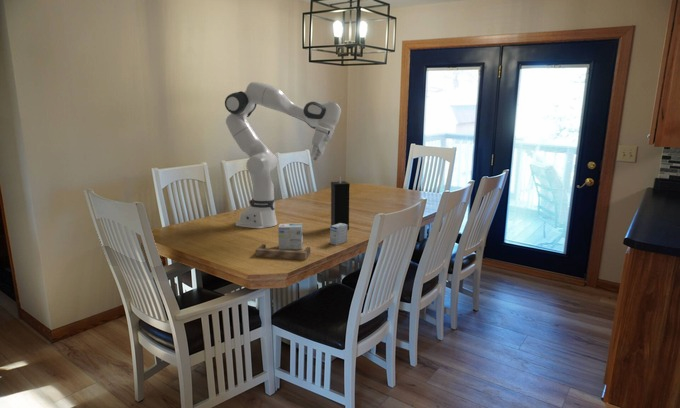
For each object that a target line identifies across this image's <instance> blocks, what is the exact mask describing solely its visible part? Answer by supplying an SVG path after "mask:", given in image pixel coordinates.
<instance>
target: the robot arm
mask: <svg viewBox="0 0 680 408" xmlns="http://www.w3.org/2000/svg"><path fill="white" fill-rule="evenodd" d="M257 105H260V106H262V107H265V108H268V109H270V110H274V111H277V112H279V113H280V112H281V113H283V114H285V115H288V116H290V117H293V118H295V119H297V120H300V121H302V122H304V123H306V124H307V125H308V126H309V127H310V128H312V129H313V130H314V133H313V137H312V141H311V143H312V144H311V145H312V150H311V153H310V155H311V156H312V157H313V161H314V162H318V160H319V158H320V156H323V155H324V153H325V150H326V148H327V144H328V141H330V140H332V138H333V135H334V132H335V129H336V126H337V125H338V123H339V121H340V117H341V115H342V108H341V107H340V105H339V104H338V103H336V102H335V101H333V100H329V101H325V102H319V101H310V102H307V103H306V104H305V105H304V107H303V106H300V105H298V104H295V103H294V102H293V101H292V100H290V99H289V98H288V96H287V95H286V94H285V93H284V92H283V91H282V90H281V89H279V88H278V87H275V86H272V85H270V84H267V83H263V82H258V81H252V82H250V83H249V84H248V85H247V86H246V89H245V91H242V90H241V91H238V92H237V91H236V92H233V93H230V94H229V95H227V96H226V98H225V100H224V106H225V110H227V111H228V112H229V113H230V114H228V116H227V117H226V118H225V124H226V126H227V128H228V131H229V132H230V135H231V136H232V138H233V140H234V141H235V142H236V144H237V145H238V147H239V149H240V150H241V151H242V152H243V153H245V154H246V155H247V156H248V157H249V158H248V159H247V161H246V169H247V170H246V171H247V172H248V173H249V176H250V180H251V184H252V194H253V195H252V196H253V197H252V199H251V200H250V201H249V202H248V204H250V205H249V207H246V209H244V210H243V211H242V212H241V214H240V216H239V220H238V221H236V222H235V226H236V227H241V228H251V229H256V230H257V229H264V228H271V227H275V226H277V225H278V220H277V217H276V216H277V215H276V210H275V209H276V199H275V190H274V189H275V187H274V183H273V181H272V178H271V177H272V176H271V172H272V171H274V170H275V168H277V165H278V162H279V161H278V157H277V156H276V155H275V154H274V153H273V152H272V151H271V150H270V149H269V148H268V146H266V145H265V143H263V142H262V141H261V139H260V138H259V136H258V134H257V133H256V132H255V130H254V129H253V127H252V126H251V124H250V123H249V121H248V117H250V116H251V115H252V113H253V112H254V111H255V110H256V108H257Z"/></svg>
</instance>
